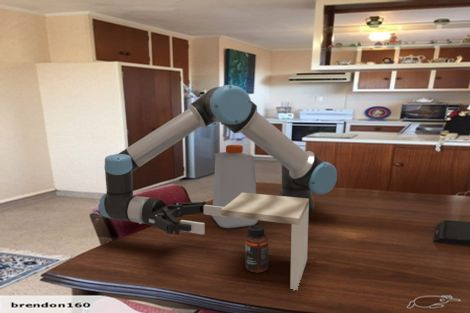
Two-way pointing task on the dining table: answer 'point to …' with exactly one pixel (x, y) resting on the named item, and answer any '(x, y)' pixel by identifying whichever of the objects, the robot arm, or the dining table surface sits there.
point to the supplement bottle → (256, 249)
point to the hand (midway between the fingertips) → (215, 219)
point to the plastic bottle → (233, 182)
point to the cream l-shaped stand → (282, 212)
